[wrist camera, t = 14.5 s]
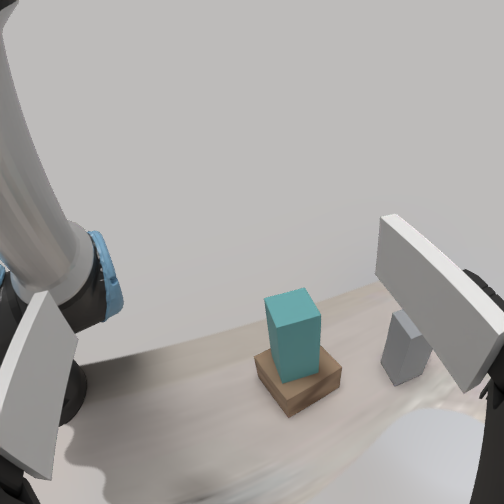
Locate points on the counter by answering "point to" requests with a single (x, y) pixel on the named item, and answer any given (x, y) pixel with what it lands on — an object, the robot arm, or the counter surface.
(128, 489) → the counter surface
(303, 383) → the walnut block
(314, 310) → the teal pillar
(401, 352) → the grey pillar
